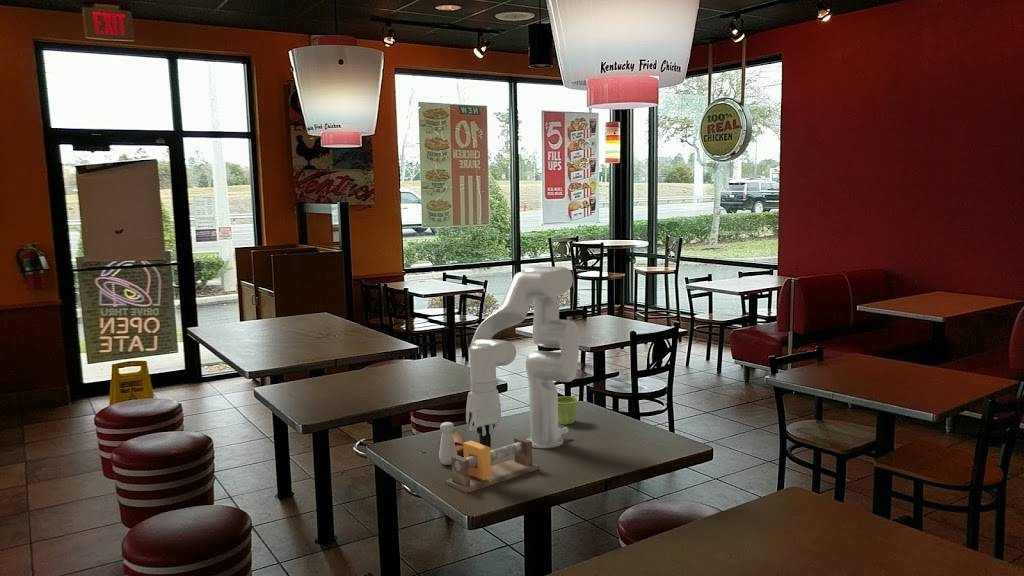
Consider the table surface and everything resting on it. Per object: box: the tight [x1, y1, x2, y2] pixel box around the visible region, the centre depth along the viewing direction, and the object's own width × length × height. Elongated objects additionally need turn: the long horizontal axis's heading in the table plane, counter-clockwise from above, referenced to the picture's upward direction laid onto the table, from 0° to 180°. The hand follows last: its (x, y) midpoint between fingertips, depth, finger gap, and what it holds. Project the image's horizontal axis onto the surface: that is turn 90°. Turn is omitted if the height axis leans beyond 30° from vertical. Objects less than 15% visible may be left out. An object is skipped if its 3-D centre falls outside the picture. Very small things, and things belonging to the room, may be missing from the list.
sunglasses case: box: [438, 430, 466, 456], centre depth 249 cm, size 18×7×7 cm
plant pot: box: [558, 396, 579, 426], centre depth 276 cm, size 9×9×9 cm
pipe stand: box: [445, 436, 540, 494], centre depth 223 cm, size 28×10×8 cm, turn 130°
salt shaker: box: [438, 421, 457, 466], centre depth 235 cm, size 6×6×13 cm
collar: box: [463, 440, 492, 480], centre depth 219 cm, size 3×9×9 cm, turn 40°
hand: (485, 447), depth 220 cm, fingers closed
